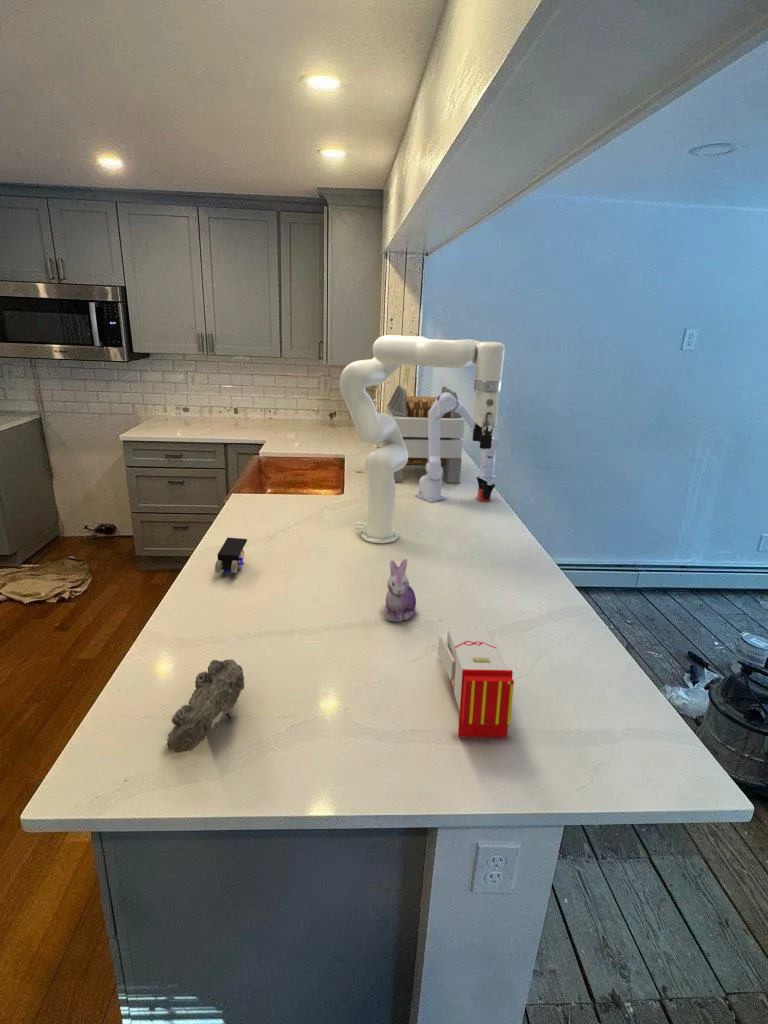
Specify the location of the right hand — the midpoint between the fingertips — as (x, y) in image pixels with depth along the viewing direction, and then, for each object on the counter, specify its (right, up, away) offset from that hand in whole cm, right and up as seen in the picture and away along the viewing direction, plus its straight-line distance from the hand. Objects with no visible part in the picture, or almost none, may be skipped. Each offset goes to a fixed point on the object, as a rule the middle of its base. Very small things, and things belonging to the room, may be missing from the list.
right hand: (483, 496), depth 240 cm
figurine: (-38, -33, -93) cm, 105 cm away
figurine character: (-87, -24, -72) cm, 116 cm away
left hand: (-13, +14, -71) cm, 73 cm away
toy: (-24, -44, -121) cm, 132 cm away
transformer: (-25, +12, +35) cm, 45 cm away
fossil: (-75, -46, -132) cm, 158 cm away
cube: (0, -1, 0) cm, 1 cm away
